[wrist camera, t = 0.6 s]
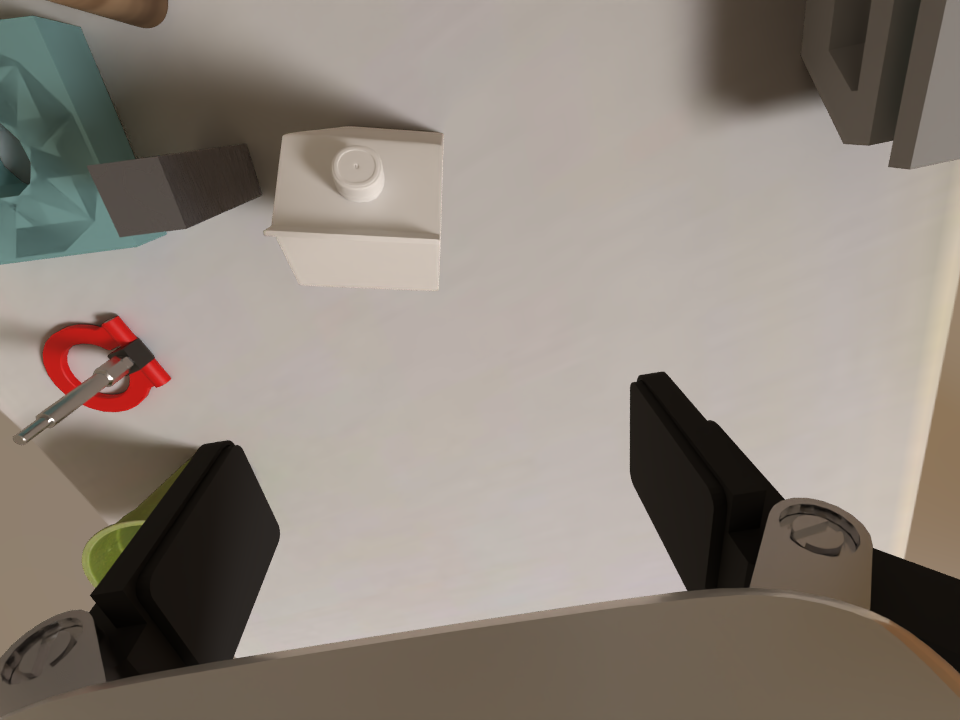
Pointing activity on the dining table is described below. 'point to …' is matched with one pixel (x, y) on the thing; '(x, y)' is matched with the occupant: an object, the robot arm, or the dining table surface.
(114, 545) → the plant pot
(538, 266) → the dining table surface
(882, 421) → the dining table surface
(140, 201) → the steel square bar
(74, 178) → the bore block
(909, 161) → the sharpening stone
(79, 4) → the walnut dowel
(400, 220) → the milk carton
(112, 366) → the tow hook
